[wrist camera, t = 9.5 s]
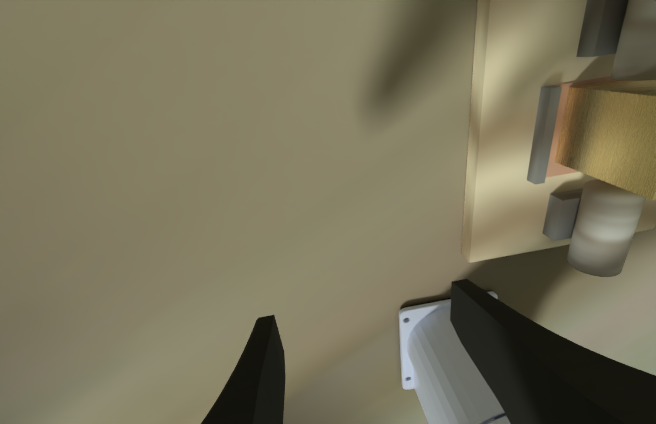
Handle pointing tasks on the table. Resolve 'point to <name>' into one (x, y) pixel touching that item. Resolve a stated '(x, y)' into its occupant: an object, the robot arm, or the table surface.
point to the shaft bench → (549, 129)
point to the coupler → (612, 134)
